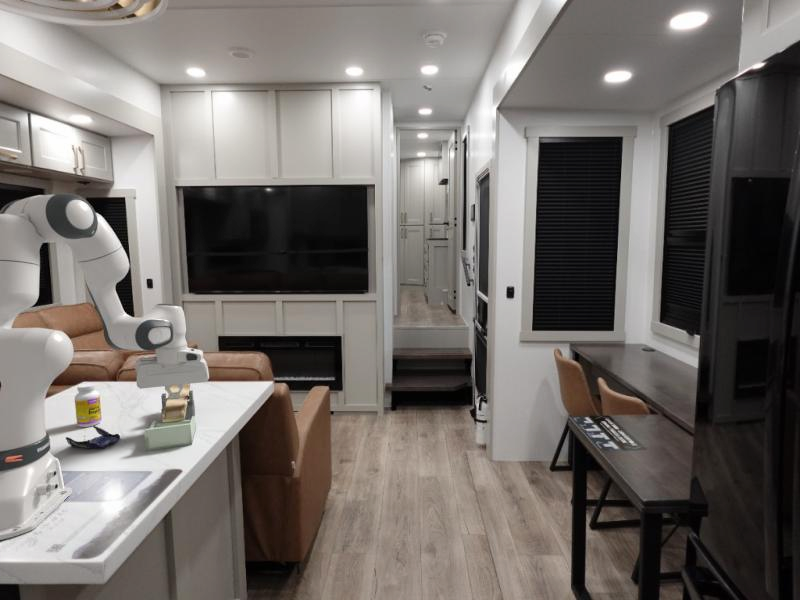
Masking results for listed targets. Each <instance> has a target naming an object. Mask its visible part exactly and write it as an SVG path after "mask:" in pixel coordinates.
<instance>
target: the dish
mask: <svg viewBox="0 0 800 600" xmlns="http://www.w3.org/2000/svg"><path fill="white" fill-rule="evenodd" d="M196 430H197V423H196V415H195V416H192V419H191V420H184V421H176V422H168V423H162V422H161V423H157V420H152V422H151V424H150V427H149V428H145V429H144V433H143V434H144V440H145V441H144V443H145V451H146V452H149V451H155V450H157V451H158V450H163V449H169V448H176V447H177V448H178V447H182V446H183V447H184V446H191V445H193V441H194V438H195V434H196Z"/></svg>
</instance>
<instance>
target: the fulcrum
mask: <svg viewBox="0 0 800 600" xmlns="http://www.w3.org/2000/svg"><path fill="white" fill-rule="evenodd" d="M166 398H167V393H166V392H165V393H162V394H161V414H162V413H163V409H164V406H166ZM192 416H195V417H196V407H195V400H194V391H193V390H191V389H190V390H189V400H188V402H187V408H186V414H185V420H191V419H192ZM179 421H184V420H179ZM171 422H176V421H171ZM161 423H168V422H163V421H162V420H161Z"/></svg>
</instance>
